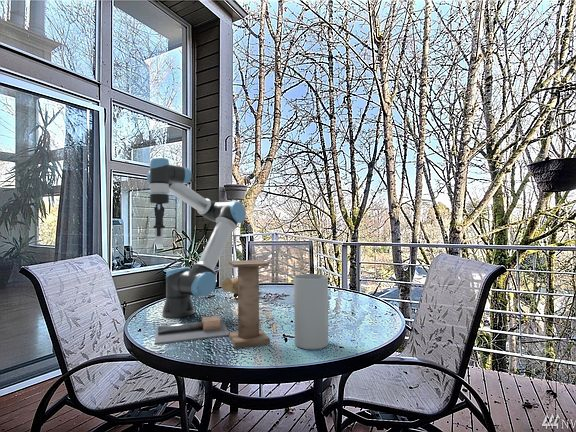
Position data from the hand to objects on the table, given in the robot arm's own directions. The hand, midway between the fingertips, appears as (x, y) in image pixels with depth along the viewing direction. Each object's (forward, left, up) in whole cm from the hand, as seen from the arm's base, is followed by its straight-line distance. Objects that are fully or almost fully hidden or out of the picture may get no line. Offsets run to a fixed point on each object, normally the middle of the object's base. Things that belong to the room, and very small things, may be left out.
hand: (159, 243), depth 144 cm
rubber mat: (+7, +13, -37) cm, 40 cm away
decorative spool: (-54, +45, -37) cm, 79 cm away
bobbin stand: (+26, +33, -37) cm, 56 cm away
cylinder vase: (+38, +54, -37) cm, 76 cm away
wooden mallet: (+7, +12, -36) cm, 39 cm away
